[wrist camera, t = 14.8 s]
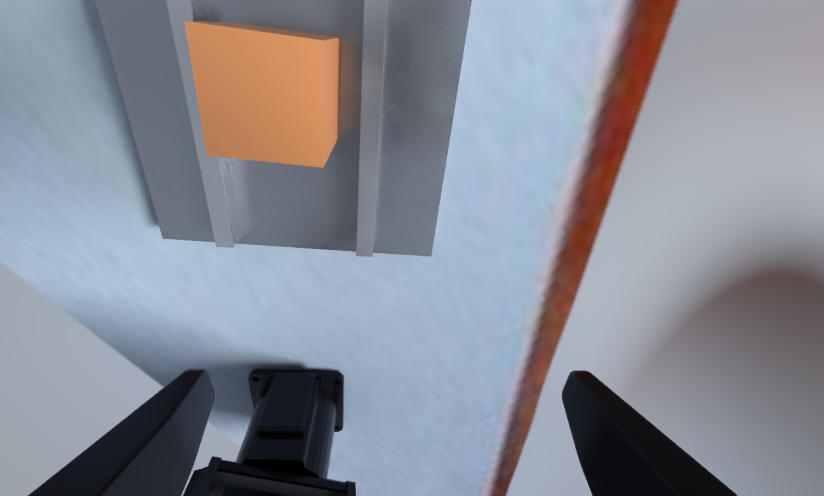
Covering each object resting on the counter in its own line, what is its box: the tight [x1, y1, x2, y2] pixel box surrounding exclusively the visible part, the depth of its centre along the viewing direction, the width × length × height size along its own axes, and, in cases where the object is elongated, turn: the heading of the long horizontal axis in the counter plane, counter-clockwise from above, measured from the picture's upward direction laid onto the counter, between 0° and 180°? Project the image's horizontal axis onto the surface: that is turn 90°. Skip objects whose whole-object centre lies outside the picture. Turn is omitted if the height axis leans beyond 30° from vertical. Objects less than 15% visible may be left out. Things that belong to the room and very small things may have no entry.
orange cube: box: [184, 21, 340, 168], centre depth 13 cm, size 4×4×4 cm
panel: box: [94, 0, 472, 257], centre depth 14 cm, size 20×14×2 cm
